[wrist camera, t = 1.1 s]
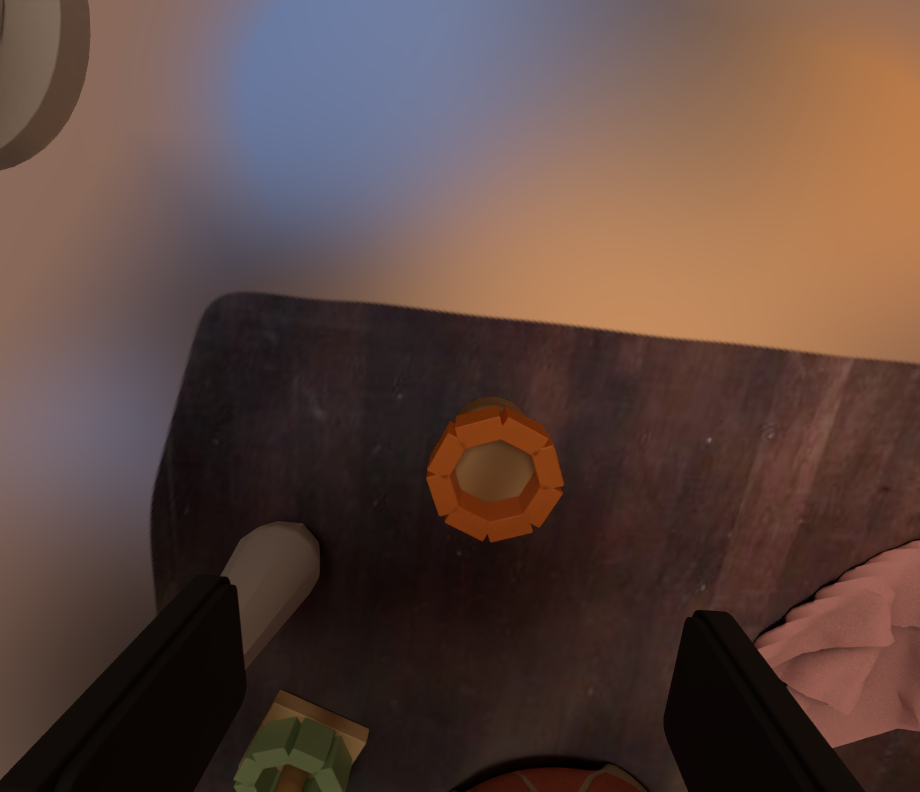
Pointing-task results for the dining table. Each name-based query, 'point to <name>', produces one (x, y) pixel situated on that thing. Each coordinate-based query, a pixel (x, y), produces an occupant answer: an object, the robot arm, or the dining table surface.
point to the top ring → (505, 514)
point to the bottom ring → (295, 757)
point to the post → (291, 706)
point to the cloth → (855, 649)
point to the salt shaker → (271, 579)
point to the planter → (561, 781)
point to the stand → (493, 462)
